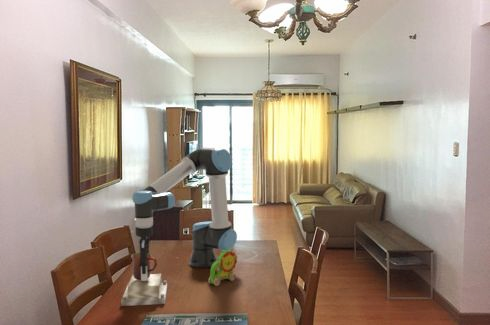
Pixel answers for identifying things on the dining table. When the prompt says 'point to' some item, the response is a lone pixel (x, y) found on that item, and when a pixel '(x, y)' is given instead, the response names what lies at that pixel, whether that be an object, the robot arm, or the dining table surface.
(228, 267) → the toy lion
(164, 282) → the mottled white flat box
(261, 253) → the dining table surface
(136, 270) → the mug
